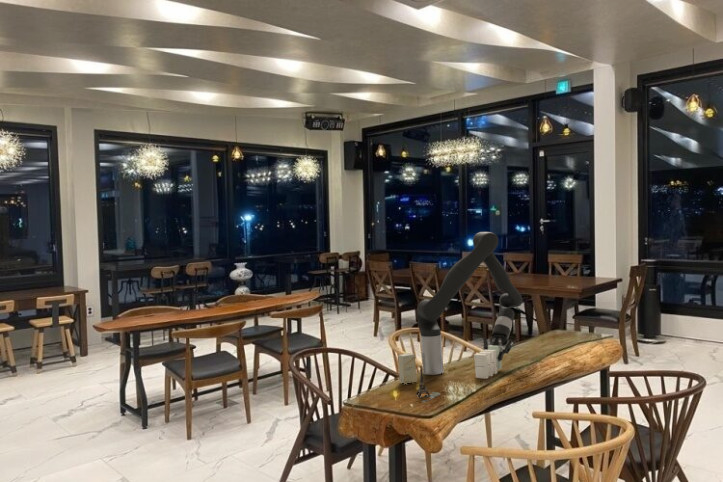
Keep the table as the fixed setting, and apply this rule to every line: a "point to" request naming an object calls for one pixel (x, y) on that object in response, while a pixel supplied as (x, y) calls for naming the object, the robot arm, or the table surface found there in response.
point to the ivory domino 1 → (481, 366)
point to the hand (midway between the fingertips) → (493, 359)
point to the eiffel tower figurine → (425, 389)
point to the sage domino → (497, 348)
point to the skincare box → (407, 368)
